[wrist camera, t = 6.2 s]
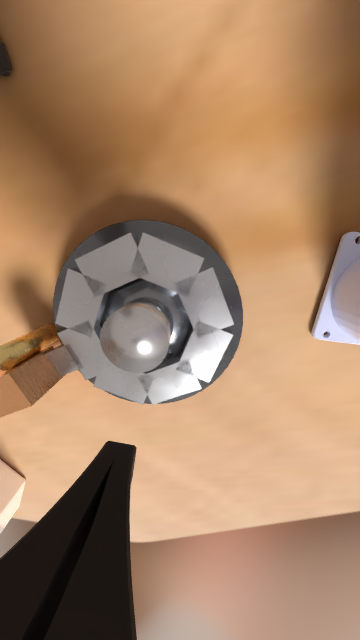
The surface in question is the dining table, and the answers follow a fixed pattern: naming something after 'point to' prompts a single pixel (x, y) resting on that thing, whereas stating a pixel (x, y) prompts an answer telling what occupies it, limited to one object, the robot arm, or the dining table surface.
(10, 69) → the figurine
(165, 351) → the post base
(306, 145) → the dining table surface
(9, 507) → the jar
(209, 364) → the grey handled ring
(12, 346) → the dowel pin
